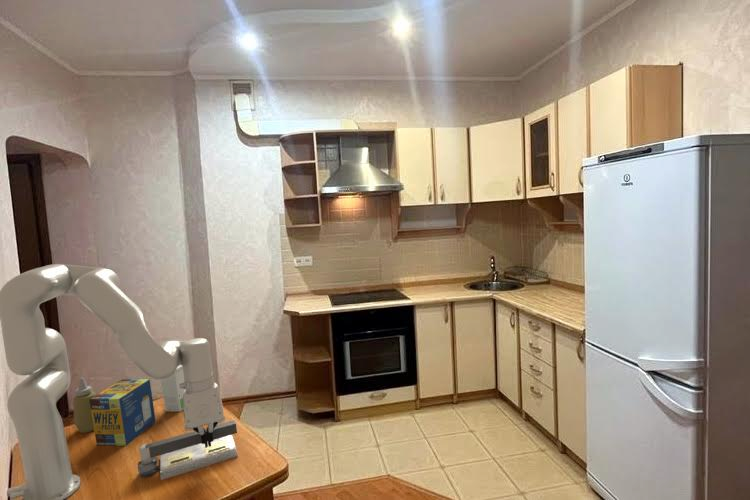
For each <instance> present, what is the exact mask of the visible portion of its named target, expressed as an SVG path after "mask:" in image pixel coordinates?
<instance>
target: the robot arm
mask: <svg viewBox="0 0 750 500" xmlns="http://www.w3.org/2000/svg"><path fill="white" fill-rule="evenodd" d="M120 286H121V280H120V278H119V276H118V274H117V273H116V272H115V271H113V270H111V269H108V268H104V267H96V266H87V265H86V266H85V265H74V264H63V263H52V264H48V265H45V266H41V267H35V268H33V269H30V270H27V271H25V272H22V273H20V274H18V275H16V276H14V277H12V278H11V279H10V280H9V281H7V282H6V283H5V284H4V285H3V286H2V287H1V288H0V327H1V333H2V340H3V346H4V351H5V359H6V364H7V367H8V368H9V370H10V371H11V372H12V373H13V374H15V375H18V376H27V377H26V378H25V379H24V380H22V381H20V383H18V384H17V385H16V386H15V387H14V388H13V390H12V391H11V392H10V394H9V396H8V398H7V404H6V405H7V406H6V407H7V411H8V414H9V417H10V419H11V421H12V423H13V427H14V428H15V433H16V437H17V438H16V439H17V442H18V447H19V451H20V457H21V462H22V467H23V473H24V477H25V482H24V483H22V484H21V485H18V486H13V487H9V488H7V490H6V494H7V495H6V496H7V497H9V498H10V500H15V499H18V498H20V497H21V500H65V499H67V498H68V497H70V496H71V495H72V494H74V493H75V492H76V491H77V490H78V489H79V487H80V486H81V477H80V476H79V475H77V474H73V471H72V466H71V460H70V454H69V450H68V443H67V437H66V432H65V426H64V423H63V422H64V421H63V419H62V415H60V412H59V410H58V408H57V402H59V400H60V399H62V397H63V396H64V395H65V394H66V393H67V391H68V390H69V388H70V385H71V380H72V379H71V378H72V377H71V371H70V362H69V357H68V349H67V344H66V340H65V339H64V337H63V336H62V334H61V333H60V332H58V331H57V330H55V329H53V328H50V327H46V325H45V318H44V315H43V312H42V310H41V309H40V305H41V304H43V303H45V302H47V301H50V300H53V299H54V298H57V297H59V296H74V297H76V299H77V300H78V301H79V302H80V304H82V305H83V306H84V307H85V308H86V309H88V311H90V312H91V313H92V315H94V316H95V317H96V318H97V319H98V320H100V322H102V324H104V326H106V328H108V329H109V330H110V331H111V332H112V333H113V334H114V337H115V339H116V340H117V342H118V344H119V345H120V347H121V349H122V350H123V352H124V354H126V356H127V357H128V359H129V360H130V361H131V362H132V363H133V364H134V365H136V366H137V367H138V368H139V369H140V370H141V371H142V372H143V373H145V375H147V376H149V377H150V378H152V379H155V380H160V381H161V379H166V378H168V377H170V376H171V375H172V374H173V373H174V372H175V371H176V369H177V367H178V366H179V365H182V366H183V373H184V380H185V381H184V382H183V383H181V384H179V386H180V389H181V388H184V389H185V390H184V392H183V410H182V411H183V419H184V431H185V432H187V431H189V432H193V431H196V432H198V433H199V434H200V435H201V440H202V444H205V448H207V447H208V446H209V447H210V446H211V442H212V441H213V435H212V432H213V429H214V428H215V427H216V425H219V424H222V422H223V423H224V422H225V420H226V418H225V415H224V407H223V402H222V401H223V400H222V396H221V392H220V388H219V385H218V384H217V382H215V378H214V369H213V364H212V363H213V362H212V361H213V360H212V356H211V354H212V353H211V346H210V342H209V340H208V339H206V338H203V337H199V338H198V337H197V338H196V337H195V338H191V339H188V340H165V341H162V342H159V343H158V341H156V339H155V338H154V337H153V336H152V334H151V333H150V332H149V330H148V328H147V325H146V322H145V317H144V314H143V311H142V310H141V308H140V306H138V305H137V304H136V303H135V302H134V301H133V300H132V299H131V298H130V297H129V296H127V295H126V294H125V293H124V292H123V291H122V290H121V289H120ZM206 425H207V427H206V428H207V430H205V429H204V426H206ZM206 432H207V435H206ZM207 440H208V443H207Z"/></svg>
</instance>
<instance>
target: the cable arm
mask: <svg viewBox="0 0 750 500" xmlns="http://www.w3.org/2000/svg"><path fill="white" fill-rule="evenodd" d="M203 428H204V427H203ZM204 429H205V430H207V427H205V428H204ZM237 430H238V428H237V423H236V420H234V419H233V420H231V421H226V422H223V423H222V422H221V423H218V424H217V425H216V427H215V428H214V429H213V432H212V435H213V440H215V439H218V438H222V437H225V436H229V435H232V436H233V435H235V434H238V431H237ZM206 435H207V432H206ZM207 442H208V440H207ZM201 443H202V440H201V435H200V434H199V433H198V432H196V431H194V430H192V431H189V432H186V433H183V434H179V435H176V436H171V437H168V438H165V439H161V440H158V441H154V442H151V443H145V444H143V445H141V446H139V448H138V450H139V455H140V456H139V457H140V461H141V463H142V464H143V465H145V464H149V463H151V462H152V461H153V460H154V459H153V457H158V456H161V455H163V454H166V453H170V452H173V451H177V450H180V449H183V448H187V447H190V446H194V445H197V444H201Z"/></svg>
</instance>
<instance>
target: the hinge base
mask: <svg viewBox="0 0 750 500" xmlns="http://www.w3.org/2000/svg"><path fill="white" fill-rule="evenodd" d="M153 459H154V460H153V461H152V462H151V463H149V464H145V465H143V464H142V463H141V460H140V461H139V462H138V463H137V471H138V476H139V477H140V478H142V479H143V478H144V479H146V478H149V477H152V476H154V475H156V474H157V473H158V472H159V470H160V465H159V458H158V456H156V457H153Z"/></svg>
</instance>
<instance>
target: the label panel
mask: <svg viewBox="0 0 750 500" xmlns="http://www.w3.org/2000/svg"><path fill="white" fill-rule="evenodd" d="M207 443H208V442H207ZM237 457H239V456H238V449H237V447H236V444H235V440H234V437H233V434H232V435H229V436H225V437H222V438H218V439H215V440H213V441H212V442H211V446H210V447H209V446H208V447H207V448H205V444H202V443H201V444H197V445H194V446H190V447H187V448H183V449H180V450H177V451H173V452H170V453H166V454H163V455H160V472H159V473H160V480H161V481H162V480H163V481H164V480H165V479H168V478H172V477H173V478H174V477H176V476H179V475H182V474H185V473H188V472H191V471H195V470H198V469H201V468H205V467H208V466H211V465H214V464H218V463H221V462H224V461H227V460H230V459H234V458H237Z"/></svg>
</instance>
